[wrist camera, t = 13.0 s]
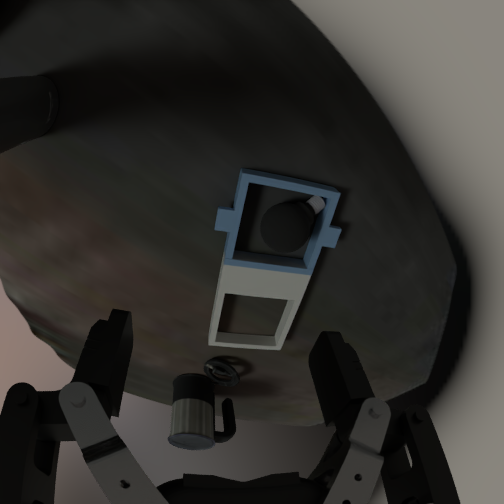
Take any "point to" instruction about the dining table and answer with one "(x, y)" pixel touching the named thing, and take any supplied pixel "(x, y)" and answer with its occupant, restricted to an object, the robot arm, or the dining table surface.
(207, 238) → the dining table surface
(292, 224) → the light bulb
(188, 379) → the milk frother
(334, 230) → the two-tone divided frame
